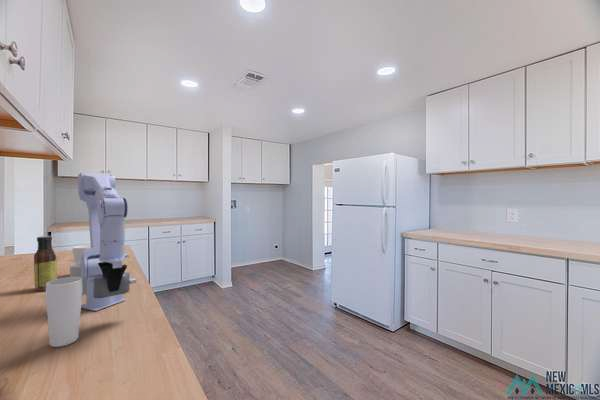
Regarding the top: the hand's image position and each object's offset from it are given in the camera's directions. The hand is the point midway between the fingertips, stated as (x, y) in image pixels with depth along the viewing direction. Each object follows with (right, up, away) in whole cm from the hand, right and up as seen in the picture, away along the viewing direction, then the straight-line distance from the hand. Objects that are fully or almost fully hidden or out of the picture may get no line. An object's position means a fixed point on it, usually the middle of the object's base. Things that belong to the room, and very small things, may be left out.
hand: (112, 288), depth 76 cm
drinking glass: (-4, -10, -11) cm, 15 cm away
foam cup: (-41, -9, +43) cm, 60 cm away
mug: (-26, -9, +25) cm, 37 cm away
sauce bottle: (-43, -9, +26) cm, 51 cm away
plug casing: (0, -1, 0) cm, 1 cm away
